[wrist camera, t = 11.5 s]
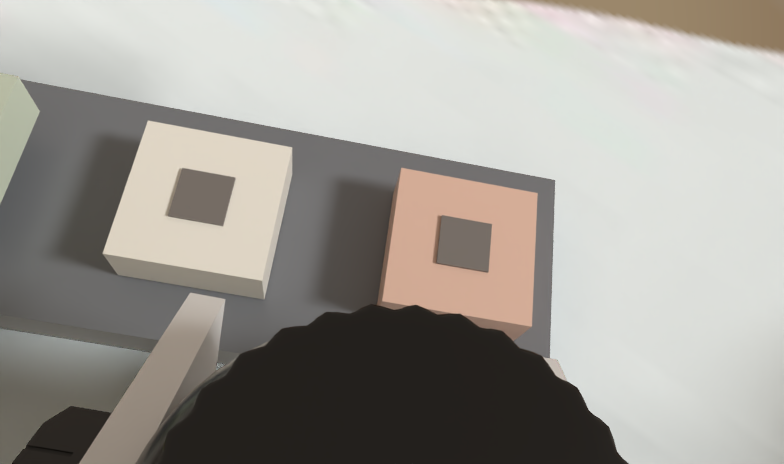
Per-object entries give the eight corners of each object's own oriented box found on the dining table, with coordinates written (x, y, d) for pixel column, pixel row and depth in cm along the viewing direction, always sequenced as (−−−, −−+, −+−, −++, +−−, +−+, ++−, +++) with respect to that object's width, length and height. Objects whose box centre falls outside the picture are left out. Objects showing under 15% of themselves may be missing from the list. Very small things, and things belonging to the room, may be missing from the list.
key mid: (292, 174, 22) (292, 145, 20) (264, 299, 20) (262, 279, 19) (158, 150, 22) (147, 118, 20) (117, 275, 20) (101, 252, 18)
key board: (536, 204, 25) (555, 180, 24) (527, 412, 22) (548, 403, 20) (-74, 91, 24) (-105, 56, 22) (-182, 298, 20) (-229, 277, 19)
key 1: (519, 216, 23) (538, 192, 21) (513, 341, 21) (532, 325, 19) (393, 193, 22) (401, 166, 21) (375, 318, 21) (382, 300, 19)
